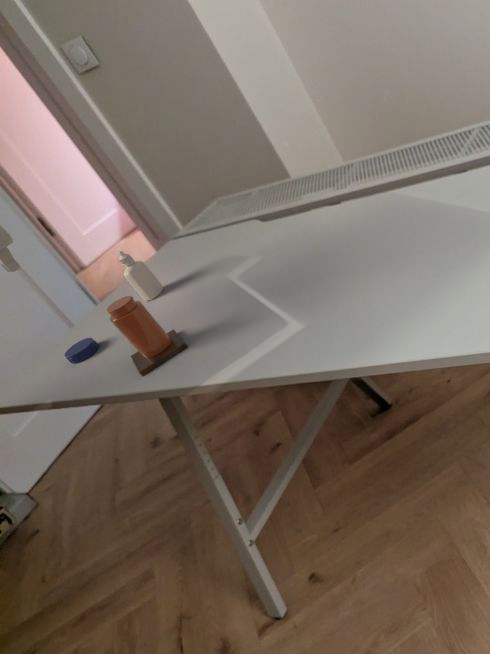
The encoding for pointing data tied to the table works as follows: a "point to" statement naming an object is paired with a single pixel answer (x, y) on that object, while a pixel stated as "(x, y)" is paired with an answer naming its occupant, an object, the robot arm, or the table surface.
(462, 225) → the table surface
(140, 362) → the board
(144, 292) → the eye dropper bottle
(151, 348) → the jar
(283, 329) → the table surface
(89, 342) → the lid
